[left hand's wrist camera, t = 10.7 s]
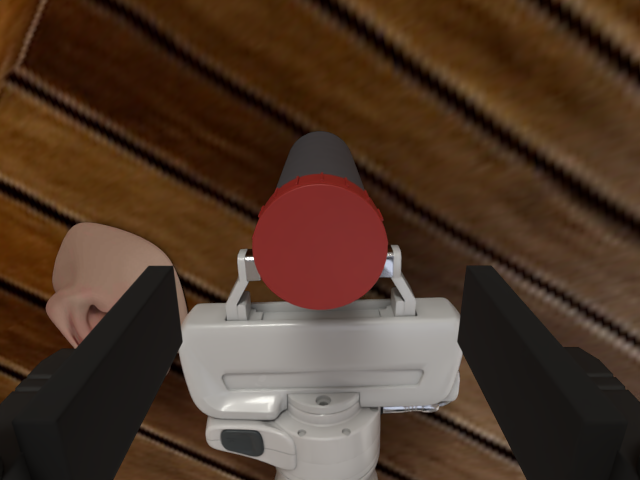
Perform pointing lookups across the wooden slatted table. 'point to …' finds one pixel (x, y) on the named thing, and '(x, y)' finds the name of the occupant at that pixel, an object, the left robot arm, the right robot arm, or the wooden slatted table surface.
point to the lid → (320, 242)
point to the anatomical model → (99, 276)
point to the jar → (320, 159)
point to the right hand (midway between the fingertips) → (319, 249)
